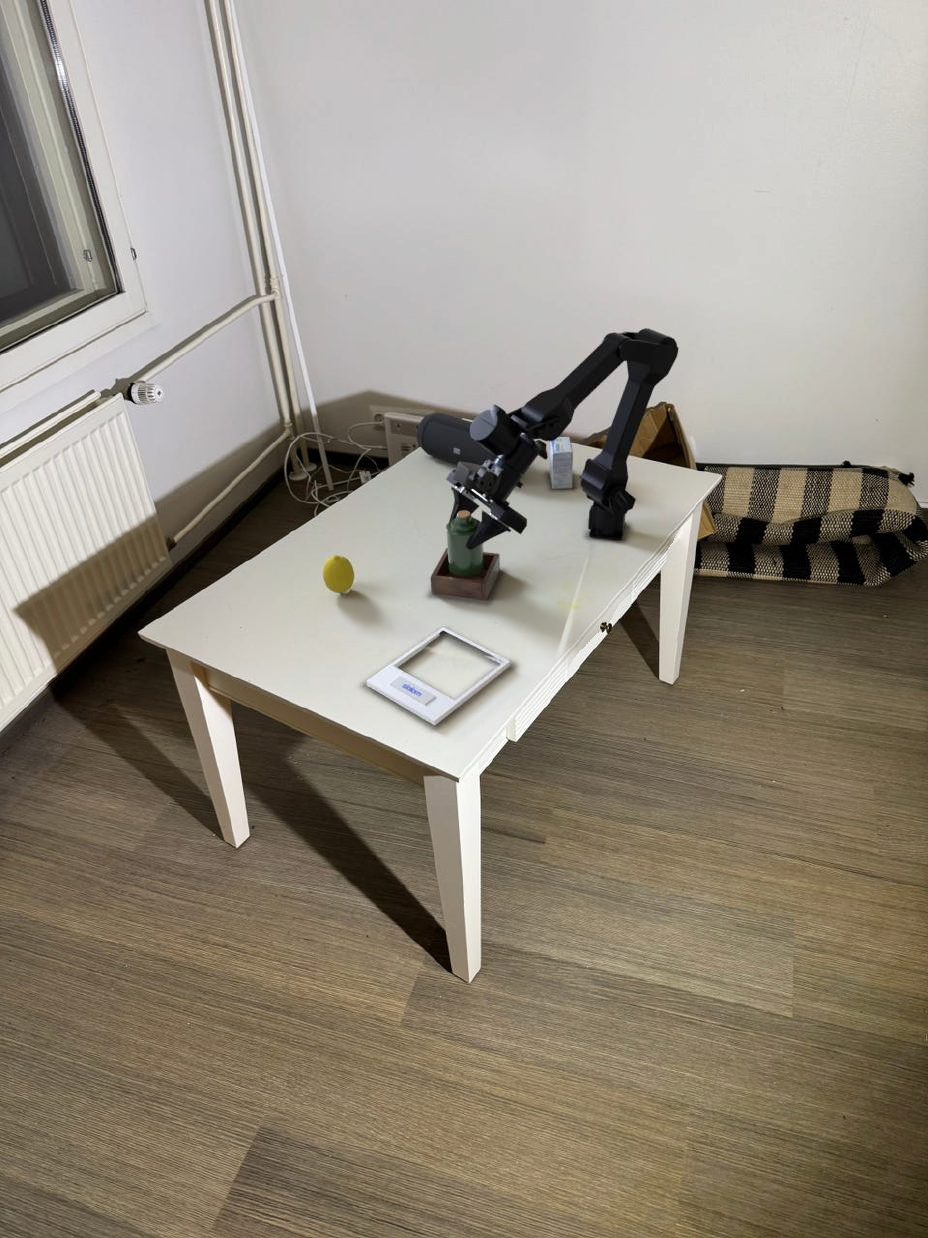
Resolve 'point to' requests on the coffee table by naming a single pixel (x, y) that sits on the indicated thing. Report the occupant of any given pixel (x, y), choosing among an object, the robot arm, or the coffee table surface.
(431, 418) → the portable speaker
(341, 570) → the lemon
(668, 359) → the robot arm
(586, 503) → the coffee table surface
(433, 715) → the photo frame
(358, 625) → the coffee table surface
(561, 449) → the medicine box
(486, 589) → the crate
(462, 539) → the bottle
